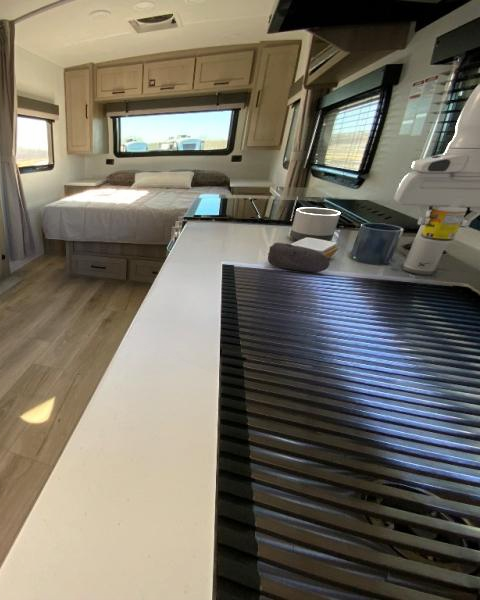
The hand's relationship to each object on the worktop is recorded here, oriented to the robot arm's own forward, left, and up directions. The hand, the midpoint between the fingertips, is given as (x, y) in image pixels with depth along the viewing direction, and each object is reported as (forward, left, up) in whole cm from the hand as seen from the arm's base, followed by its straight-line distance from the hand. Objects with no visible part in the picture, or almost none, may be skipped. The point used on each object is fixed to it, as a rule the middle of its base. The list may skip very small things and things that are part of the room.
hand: (441, 225), depth 78 cm
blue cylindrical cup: (+5, -18, -15) cm, 24 cm away
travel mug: (-4, -11, -15) cm, 19 cm away
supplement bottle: (0, 0, -4) cm, 4 cm away
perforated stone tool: (+26, 0, -15) cm, 30 cm away
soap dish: (+22, -12, -15) cm, 29 cm away
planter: (+19, -34, -15) cm, 42 cm away
